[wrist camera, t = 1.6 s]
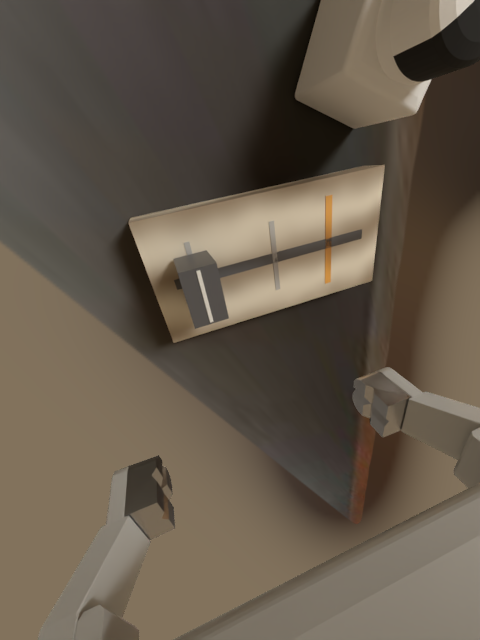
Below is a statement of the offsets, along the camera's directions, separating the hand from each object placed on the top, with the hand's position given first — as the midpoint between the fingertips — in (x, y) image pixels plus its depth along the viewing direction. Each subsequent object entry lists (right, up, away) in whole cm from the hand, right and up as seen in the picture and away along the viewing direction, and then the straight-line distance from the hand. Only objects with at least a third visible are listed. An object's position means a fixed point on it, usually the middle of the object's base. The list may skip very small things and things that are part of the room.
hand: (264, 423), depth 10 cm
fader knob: (-5, +8, +14) cm, 17 cm away
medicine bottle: (+8, +26, +12) cm, 30 cm away
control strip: (+2, +12, +18) cm, 21 cm away
